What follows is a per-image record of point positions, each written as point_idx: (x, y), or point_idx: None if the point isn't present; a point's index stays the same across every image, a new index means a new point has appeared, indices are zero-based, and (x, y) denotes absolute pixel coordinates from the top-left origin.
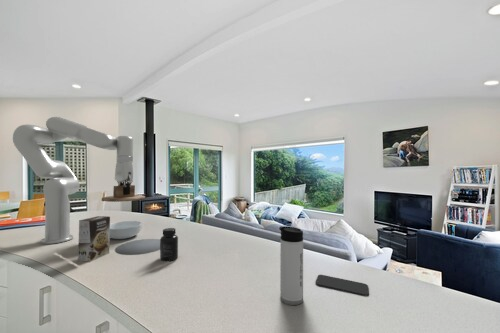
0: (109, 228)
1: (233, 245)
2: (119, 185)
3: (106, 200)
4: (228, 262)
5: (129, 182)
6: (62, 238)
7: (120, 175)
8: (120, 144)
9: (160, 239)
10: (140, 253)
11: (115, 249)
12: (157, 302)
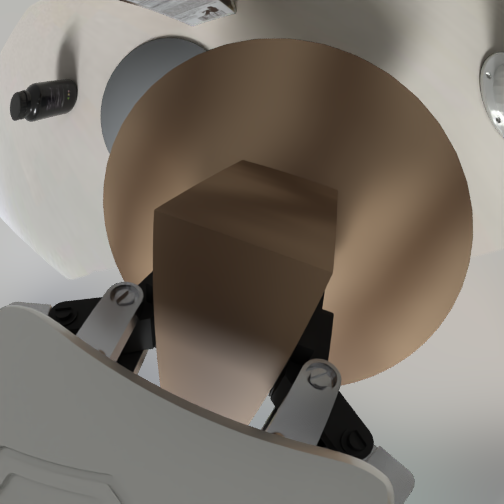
0: (138, 4)
1: (45, 214)
2: (300, 372)
3: (268, 42)
4: (21, 142)
5: (33, 305)
6: (494, 82)
7: (30, 462)
8: None
9: (36, 84)
10: (117, 72)
11: (200, 50)
12: (34, 22)
